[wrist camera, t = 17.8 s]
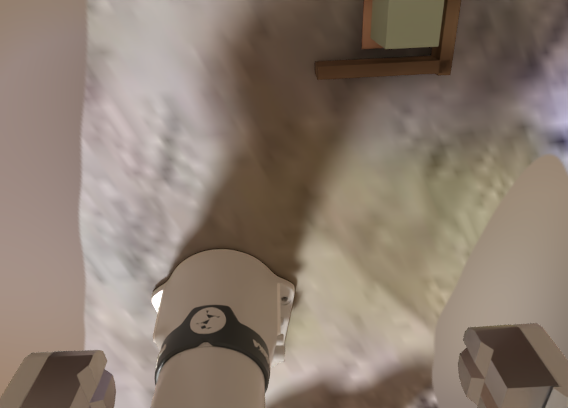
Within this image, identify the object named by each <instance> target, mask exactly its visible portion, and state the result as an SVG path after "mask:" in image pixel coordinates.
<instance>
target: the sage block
mask: <svg viewBox="0 0 568 408" xmlns="http://www.w3.org/2000/svg"><path fill="white" fill-rule="evenodd" d="M443 7H444V0H372V19H371V37H370V38H371V39H372V40H374V41H375V42H376V43H378V44H379V45H380V46H382V47H383V48H385V49H399V48H419V47H438V46H439V38H440V30H441V23H442V15H443Z"/></svg>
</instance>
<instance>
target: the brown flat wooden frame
mask: <svg viewBox="0 0 568 408" xmlns="http://www.w3.org/2000/svg"><path fill="white" fill-rule="evenodd" d="M460 5H461V0H444V7H443V15H442V23H441V30H440V38H439V46H438V47H432V51H431V55H430V56H411V57H392V58H373V59H354V60H335V61H316V62H315V74H316V77H317V79H318V80H322V79H341V78H360V77H379V76H398V75H417V74H436V75H450V73H451V66H452V60H453V53H454V46H455V39H456V32H457V25H458V19H459V12H460ZM371 19H372V0H364V7H363V30H362V49H374V48H383V47H382V46H380V45H379V44H378V43H376V42H375V41H374V40H372V39H371V38H370V37H371Z"/></svg>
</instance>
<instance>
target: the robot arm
mask: <svg viewBox="0 0 568 408" xmlns="http://www.w3.org/2000/svg"><path fill="white" fill-rule="evenodd" d="M294 294H295V287H294V285H293V284H292V283H291V282H289V281H287V280H285V279H283V278H280V277H278V276H276V275H275V274H274V273H272V272H271V270H270V269H269V268H268V267H267V266H266V265H265V264H263V263H262V262H261V261H259V260H258V259H256V258H255V257H253V256H251V255H248V254H246V253H243V252H239V251H235V250H228V249H215V250H208V251H203V252H200V253H197V254H195V255H192V256H190V257H189V258H187V259H185V260H184V261H183V262H182V263H180V264H179V265H178V266H177V268H176V269H175V270H174V272H173V273H172V275H171V277H170V278H169V280H168V281H167V282H166V283H165V284H163V285H161V286H160V287H158V288H157V289H156V290H154V292H153V293H152V298H151V302H152V304H153V306H154V308H155V310H156V311H157V313H158V314H157V319H156V324H155V329H154V333H153V341H154V342H155V343H156V345H157V347H158V349H159V350H160V353H159V355H158V358H157V362H156V371H155V385H156V388H155V391H154V395H153V399H152V403H151V407H150V408H265V393H266V390H267V388H268V383H269V378H270V368H272V367H274V366H276V365H278V364H279V363H280V362H284V358H285V345H284V341H285V337H286V332H287V327H288V322H289V318H290V313H291V308H292V304H293V299H294ZM282 297H286V298H282ZM463 341H464V343H465V345H466V347H467V348H466V349H465V350H464V351H462V353H460V356H459V361H458V371H459V378H460V381H461V385H462V387H463V390H464V392H465V394H466V397H468V398H469V399H470V400H471V401H473V402H474V403H475V404H477V405H478V407H477V408H568V360H567V359H566V357H565V356H564V355H563V354H562V352H561V351H560V349H559V348H558V347H557V346H556V344H555V343H554V342H553V340H552V339H551V338H550V336H549V335H548V334H547V333H546V331H545V330H544V329H543V327H542V326H540V325H539V324H537V323H530V324H515V325H497V326H483V327H470V328H468V329H467V330H466V331H465V334H464V338H463ZM106 363H107V359H106V357H105V354H104V352H103V351H100V350H88V351H61V352H60V351H58V352H41V353H31V354H30V355H28V356H27V357H26V358H25V359H24V360H23V362H22V363H21V365H20V367H19V368H18V370H17V371H16V373H15V375H14V376H13V378H12V380H11V381H10V383H9V384H8V386H7V388H6V389H5V391H4V393H3V394H2V396H1V398H0V408H114V404H115V396H116V388H115V381H114V378H113V375H112V374H111V373H109V372H108V371H106V370H105V369H104V368H105V366H106Z"/></svg>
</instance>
